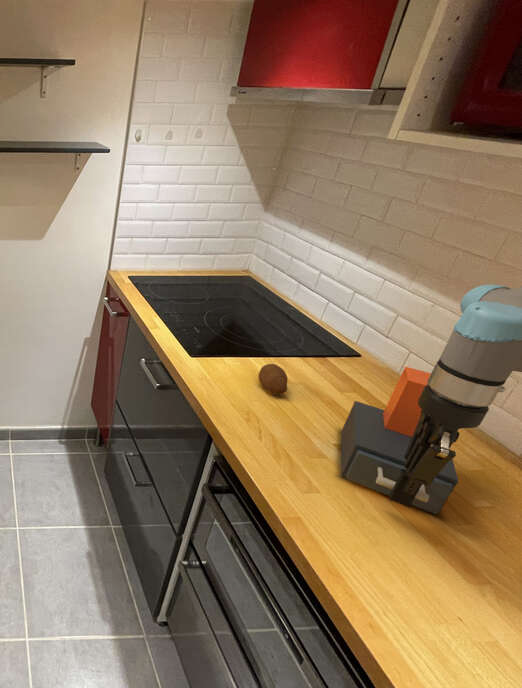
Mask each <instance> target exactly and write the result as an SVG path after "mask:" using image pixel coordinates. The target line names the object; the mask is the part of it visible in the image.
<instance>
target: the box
mask: <svg viewBox="0 0 522 688" xmlns="http://www.w3.org/2000/svg"><path fill="white" fill-rule="evenodd" d="M431 373H432V372H427V371H424V370H420V369H416V368H412V367H408V366H405V367H404V368H403V370H402V373H401V375H400V377H399V378H398V380H397V383H396V385H395V387H394V389H393V391H392V394H391V395H390V396H389V397H390V398H389V400H388V402H387V403H386V405H385V407H384V409H383V410H384V412H383V417H384V426H385V428H386V429H389V430H392V431H395V432H398V433H401V434H404V435H407V436H410V437H412V436H413V434H414V431H415V429H416V426H417V424H418V421H419V418H420V414H421V410H422V409H421V408H420V407H419V405H418V399H419V397H420V395H421V393H422V391H423V389H424V387H425V386H426V385H428V383H427V381H428V379H429V377H430V375H431Z"/></svg>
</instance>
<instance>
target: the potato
mask: <svg viewBox="0 0 522 688" xmlns="http://www.w3.org/2000/svg"><path fill="white" fill-rule="evenodd" d="M258 380H259V382H260V384H261V386H262V387H263V389H264V390H266V391H267V392H268V393H270V394H271V395H272V394H273V395H283V394H285V393H286V392H287V390H288V376H287V373H286V371H285V369H284V368H282V367H281V366H279V365H277V364H275V363H267V364H264V365H263V366H262V367H261V368H260V370H259V372H258Z"/></svg>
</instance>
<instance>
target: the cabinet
mask: <svg viewBox="0 0 522 688" xmlns="http://www.w3.org/2000/svg"><path fill="white" fill-rule="evenodd" d="M384 410H385V409H384V408H383V409H382V408H380V407H376V406H373V405H369V404H366V403H363V402H360V401H358V400H357V401H356V400H354V402H353V404H352V407H351V409H350V411H349V413H348V415H347V418H346V420H345V422H344V424H343V427H342V429H341V442H340V443H341V444H340V446H341V447H340V477H341V478H343V479H345V480H347V479H346V474H347V472H348V470H349V468H350V466H351V463H352V461H353V459H354V457H355V455H356V453H357V451H358V450H363V451H366V452H368V453H371V454H374V455H377V456H379V457H382V458H385V459H388V460H390V461H393V462H396V463H399V464H402V465H404V463H405V462H406V460H407V459H405V458H404V454H405V453H406V451H407V448H408V446H409V443H410V441H411V438H412V437H410V436H407V435H404V434H401V433H398V432H395V431H392V430H389V429H386V428H385V426H384V417H383V412H384ZM449 450H451V448H450V449H449ZM453 459H454V458H453ZM453 459H452V460H450V461H449V462H448V463H447V464H446V465H445V466H444V468H443V469H442V470H441V471H440V473H439V474H438V475H437V476H436V477H437V478H440V479H443V480H444V481H447V482H449V483H452V486H453V488H452V490H451V492H450V493H449V495H448V496H447V498H446V500H445V501H444V503H443V504H442V506H441V508H440V509H439V511H438V513H437V514H435V516H438V515H439V514H440V512H441V510H442V509H443V507H444V505H445V504H446V502H447V501H448V499H449V498H450V496H451V495H452V493H453V491H454V489H455V488H456V486H457V485H458V483H459V482H460V480H459V477H458V473H457V470H456V466H455V463H454V460H453ZM349 481H350V482H352V481H351V480H349ZM354 483H355V484H357V483H356V482H354ZM359 486H362V485H361V484H359ZM364 487H366V486H364ZM366 488H368V489H370V490H373V491H375V492H378V493H380V494H383V495H385V494H384V493H381V492H379V491H376V490H374V489H371V488H369V487H366ZM387 497H389V495H387ZM410 506H414V505H412V504H411V505H410ZM414 507H415V508H419V507H417V506H414ZM419 509H421V510H423V511H426V512H428V511H427V510H424V509H422V508H419ZM430 513H432V512H430ZM432 514H433V513H432Z"/></svg>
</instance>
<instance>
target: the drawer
mask: <svg viewBox="0 0 522 688" xmlns="http://www.w3.org/2000/svg"><path fill="white" fill-rule="evenodd" d="M401 468H402V469H406V468H405V467H404V465H402V464H399V463H396V462H393V461H390V460H388V459H385V458H382V457H379V456H377V455H374V454H371V453H368V452H366V451H363V450H358V451H357V453H356V455H355V457H354V459H353V461H352V463H351V466H350V468H349V470H348V472H347V474H346V479H345V480H348V481H350V480H351V481H350V482H353V483H355V482H356V483H355V484H358V485H360V484H361V485H360V486H363V487H365V486H366V488H368V487H369V488H368V489H370V488H371V489H370V490H373V489H374V490H373V491H375V490H376V491H375V492H378V491H379V492H378V493H380V492H381V493H380V494H383V493H384V494H383V495H386V496H388V495H390V493H391V491H392V489H393V487H394V485H395V484H396V482H397V480H398V478H399V476H400V470H401ZM452 488H453V486H452V483H449V482H447V481H444V480H443V479H440V478H437V477H436V478H435V479H434V480H433V481H432V483H431V484H430V485H429V486H425V485H423V484H422V486H421V487H420V489H419V491H418V493H417V494H416V496H415V498H414V500H413V502H412V503H411V504H412V505H411V506H413V505H414V507H416V506H417V507H416V508H418V507H419V509H421V508H422V509H421V510H423V509H424V510H423V511H426V510H427V511H426V512H428V513H431V512H432V514H434V515H436V514H437V513H438V511H439V509H440V508H441V506H442V504H443V503H444V501H445V500H446V498H447V496H448V495H449V493H450V492H451V490H452Z"/></svg>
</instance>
